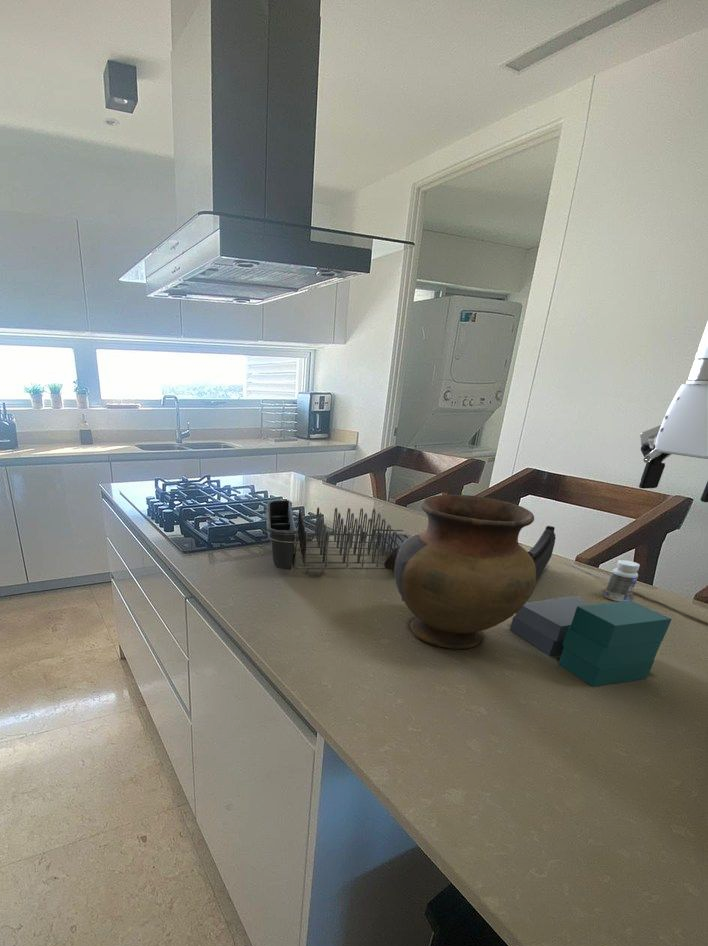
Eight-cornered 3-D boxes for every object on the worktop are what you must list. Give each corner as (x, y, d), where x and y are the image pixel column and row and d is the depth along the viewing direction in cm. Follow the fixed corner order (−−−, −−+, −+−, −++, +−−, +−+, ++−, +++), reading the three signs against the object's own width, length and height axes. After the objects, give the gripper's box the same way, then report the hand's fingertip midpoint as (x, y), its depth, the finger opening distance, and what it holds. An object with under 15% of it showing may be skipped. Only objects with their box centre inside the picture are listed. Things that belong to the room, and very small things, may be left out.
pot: (366, 650, 86) (384, 512, 76) (385, 599, 106) (401, 485, 96) (522, 682, 78) (566, 533, 68) (511, 620, 98) (543, 498, 88)
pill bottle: (629, 604, 107) (642, 568, 103) (604, 599, 109) (616, 563, 105) (628, 597, 110) (641, 562, 107) (603, 592, 112) (615, 557, 109)
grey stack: (568, 622, 98) (577, 595, 95) (614, 648, 89) (625, 618, 86) (508, 629, 94) (515, 601, 92) (549, 656, 85) (558, 626, 83)
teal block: (622, 621, 83) (630, 600, 81) (662, 641, 77) (672, 618, 75) (569, 627, 80) (576, 605, 79) (606, 648, 74) (615, 625, 73)
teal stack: (608, 655, 86) (621, 620, 83) (647, 678, 80) (663, 641, 77) (555, 663, 83) (566, 627, 81) (591, 687, 77) (605, 649, 74)
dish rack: (265, 537, 146) (266, 497, 141) (412, 540, 146) (418, 500, 141) (265, 579, 115) (266, 530, 110) (451, 584, 115) (461, 535, 110)
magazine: (529, 566, 101) (565, 501, 118) (513, 563, 103) (550, 499, 119) (516, 627, 111) (550, 560, 128) (501, 623, 113) (537, 557, 130)
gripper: (817, 374, 62) (757, 506, 69) (681, 374, 77) (643, 482, 85) (775, 373, 61) (718, 508, 68) (644, 373, 76) (609, 484, 83)
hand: (677, 494), depth 76 cm, fingers open, 9 cm apart
